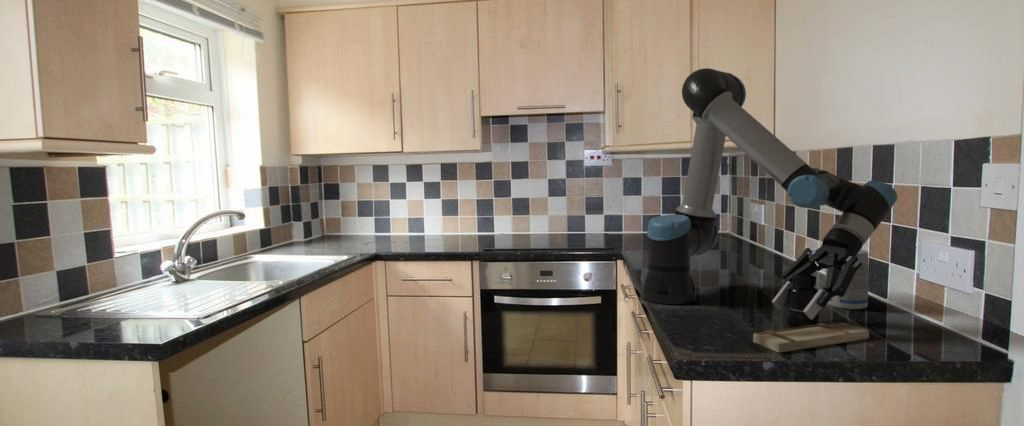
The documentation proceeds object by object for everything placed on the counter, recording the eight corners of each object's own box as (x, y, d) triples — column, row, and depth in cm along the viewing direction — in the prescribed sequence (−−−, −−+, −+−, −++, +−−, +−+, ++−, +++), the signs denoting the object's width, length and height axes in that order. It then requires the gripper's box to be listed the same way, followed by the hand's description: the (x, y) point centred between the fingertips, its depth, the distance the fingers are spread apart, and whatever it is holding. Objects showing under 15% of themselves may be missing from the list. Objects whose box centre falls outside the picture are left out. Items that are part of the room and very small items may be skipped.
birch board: (753, 341, 111) (753, 332, 111) (839, 329, 118) (839, 320, 118) (778, 352, 104) (779, 342, 104) (868, 338, 111) (869, 329, 111)
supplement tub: (874, 306, 136) (876, 250, 135) (857, 312, 131) (859, 254, 129) (834, 299, 144) (836, 246, 143) (817, 304, 139) (819, 250, 138)
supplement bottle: (788, 329, 119) (789, 277, 117) (783, 321, 125) (784, 272, 124) (822, 332, 116) (823, 279, 115) (816, 323, 123) (817, 273, 122)
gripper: (899, 253, 113) (841, 333, 110) (817, 241, 134) (765, 308, 130) (882, 231, 111) (822, 312, 108) (801, 222, 132) (748, 290, 128)
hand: (791, 310), depth 119 cm, fingers open, 8 cm apart
